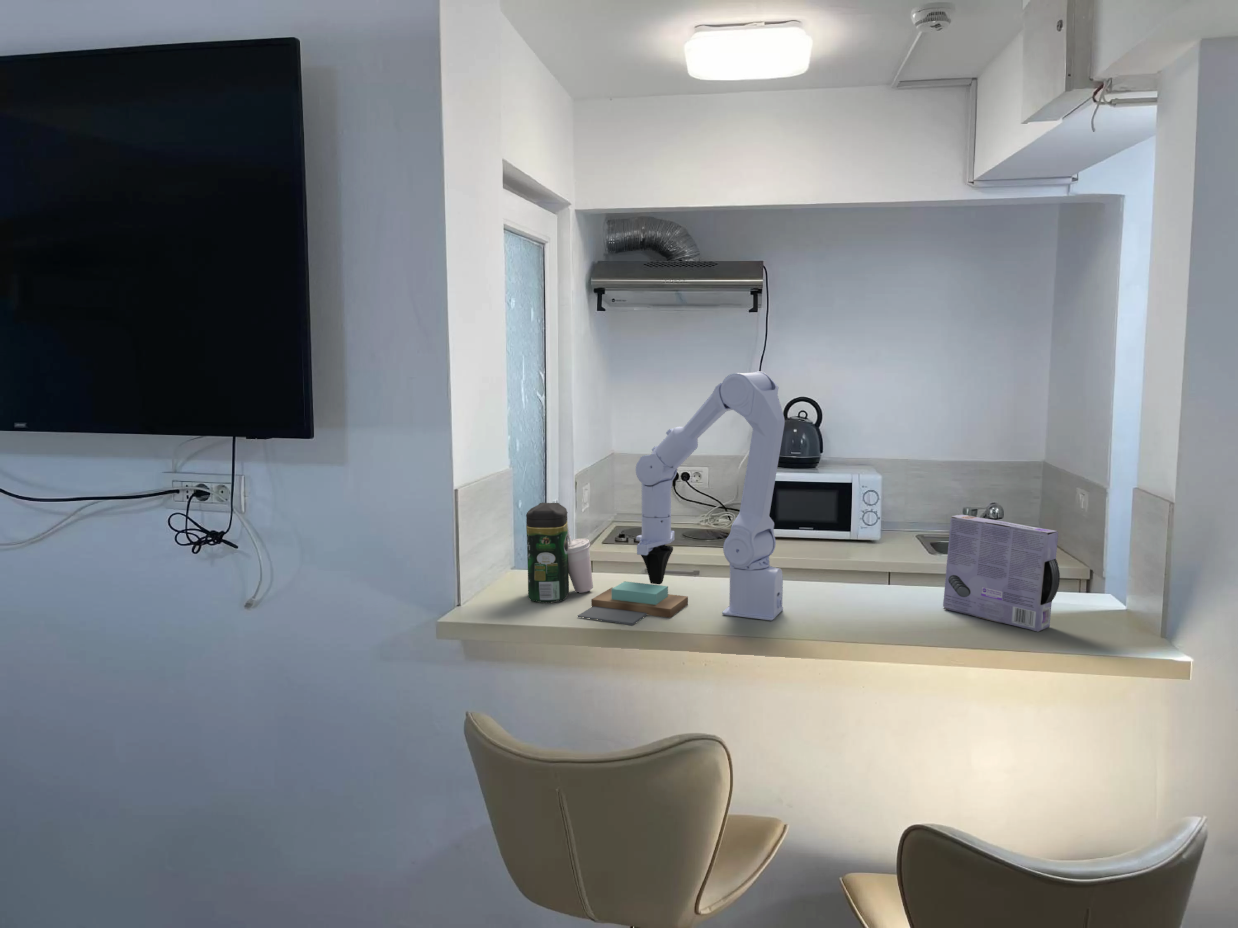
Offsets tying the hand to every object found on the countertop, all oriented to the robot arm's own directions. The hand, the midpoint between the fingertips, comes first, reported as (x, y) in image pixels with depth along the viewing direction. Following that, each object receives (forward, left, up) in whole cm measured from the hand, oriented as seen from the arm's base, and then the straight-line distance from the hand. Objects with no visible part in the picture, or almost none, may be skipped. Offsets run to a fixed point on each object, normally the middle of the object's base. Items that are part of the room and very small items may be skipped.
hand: (656, 583), depth 182 cm
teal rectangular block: (0, +8, -1) cm, 8 cm away
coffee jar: (+19, +10, -3) cm, 21 cm away
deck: (0, +8, -2) cm, 9 cm away
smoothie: (+14, +3, -2) cm, 15 cm away
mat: (+2, +16, -2) cm, 16 cm away
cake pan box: (-62, -10, -3) cm, 63 cm away
